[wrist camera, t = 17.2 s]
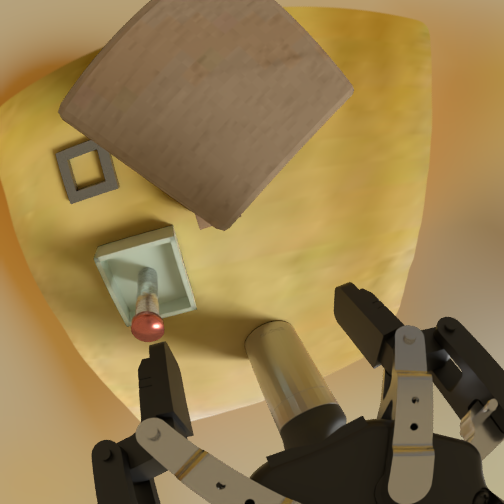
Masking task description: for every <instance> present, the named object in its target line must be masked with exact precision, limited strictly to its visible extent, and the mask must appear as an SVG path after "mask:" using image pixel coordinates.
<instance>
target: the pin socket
mask: <svg viewBox="0 0 504 504" xmlns="http://www.w3.org/2000/svg"><path fill="white" fill-rule="evenodd" d="M96 149H97V150H98V154H99V158H100V162H101V166H102V169H103V173H104V177H105V181H101V182H98V183H95V184H93V185H90V186H87V187H84V188H81V189H78V187H77V184H76V181H75V178H74V174H73V171H72V167H71V164H70V160H69V159H72V158H74V157H77V156H79V155H82V154H85V153H88V152H90V151H93V150H96ZM56 158H57V161H58V165H59V169H60V172H61V175H62V179H63V182H64V185H65V188H66V191H67V195H68V198H69V201H70V203H71V204H73V203H76V202H79V201H82V200H84V199H87V198H90V197H93V196H96V195H99V194H102V193H105V192H109V191H112V190H115V189H118V188H119V183H118V179H117V176H116V172H115V168H114V164H113V160H112V156H111V154H110V153H109V152H108V151H106V150H105V149H103V148H102V147H100V146H99V145H98V144H96V143H95V142H93V141H92V140H89V141H86V142H84V143H81V144H78V145H76V146H73V147H71V148H68V149H65V150H63V151H61V152H58V153H56Z"/></svg>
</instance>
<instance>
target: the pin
mask: <svg viewBox="0 0 504 504" xmlns="http://www.w3.org/2000/svg"><path fill="white" fill-rule="evenodd" d="M131 331H132V334H133V335H134V336H135V337H136V338H137V339H139V340H141V341H144V342H153V341H156V340H158V339H160V338H161V337H162V336H163V334H164V322H163V319H162V318H161V317H160V316H159V300H158V275H157V272H156V271H155V270H154V269H153V268H150V267H145V268H142V269H141V270H140V271H139V273H138V280H137V296H136V315H135V316H134V317H133V319H132V324H131Z"/></svg>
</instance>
